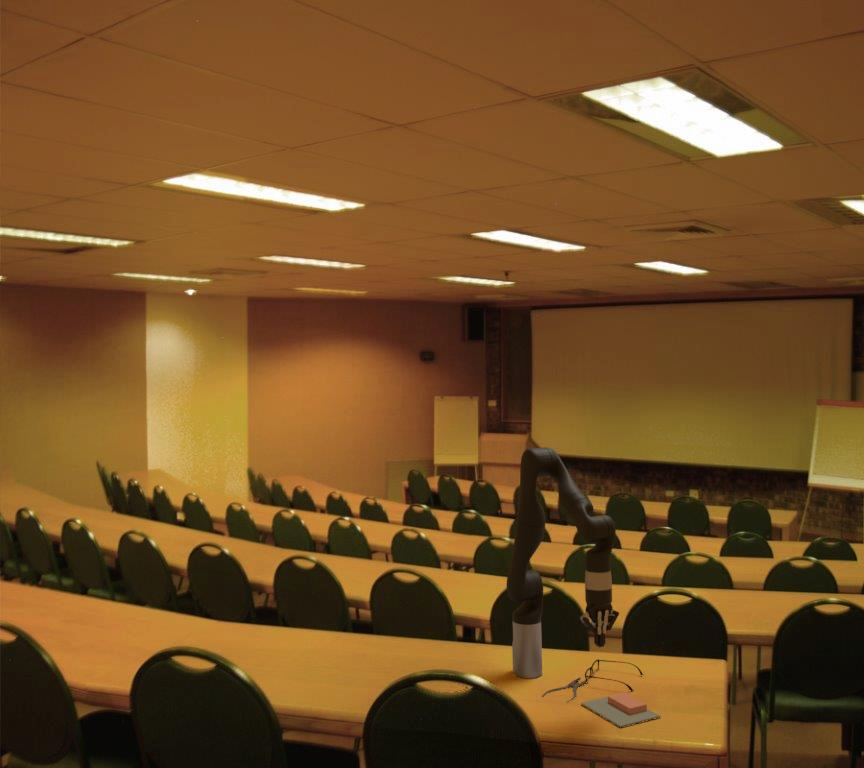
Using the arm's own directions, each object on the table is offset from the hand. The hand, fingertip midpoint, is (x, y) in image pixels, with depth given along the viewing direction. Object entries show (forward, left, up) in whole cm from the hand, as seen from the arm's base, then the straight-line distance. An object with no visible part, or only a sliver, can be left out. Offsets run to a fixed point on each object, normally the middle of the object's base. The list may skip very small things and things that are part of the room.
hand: (599, 646), depth 231 cm
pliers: (-19, +1, -20) cm, 28 cm away
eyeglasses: (-18, +19, -20) cm, 32 cm away
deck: (+2, +5, -18) cm, 18 cm away
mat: (+2, +5, -19) cm, 20 cm away
